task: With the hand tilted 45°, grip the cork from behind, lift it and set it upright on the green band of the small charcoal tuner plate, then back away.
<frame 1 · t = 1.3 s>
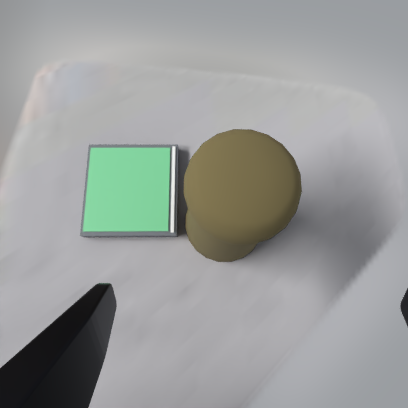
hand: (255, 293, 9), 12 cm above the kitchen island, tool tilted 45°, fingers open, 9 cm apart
tuner plate: (133, 191, 22), on the kitchen island
cork: (223, 222, 22), on the kitchen island
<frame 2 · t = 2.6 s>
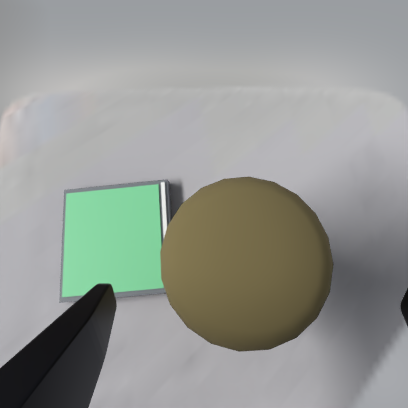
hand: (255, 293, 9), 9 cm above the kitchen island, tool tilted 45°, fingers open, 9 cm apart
tuner plate: (120, 239, 19), on the kitchen island
cork: (230, 268, 18), on the kitchen island
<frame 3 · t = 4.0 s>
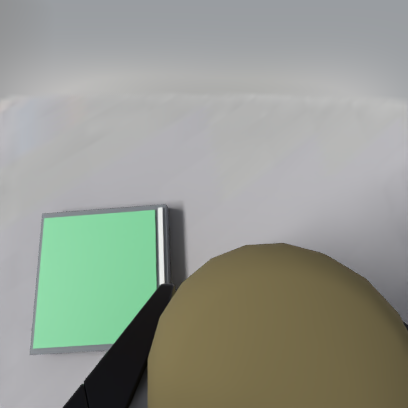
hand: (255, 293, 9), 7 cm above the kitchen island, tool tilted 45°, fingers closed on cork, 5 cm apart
tuner plate: (107, 275, 15), on the kitchen island
cork: (240, 315, 15), on the kitchen island, touching gripper
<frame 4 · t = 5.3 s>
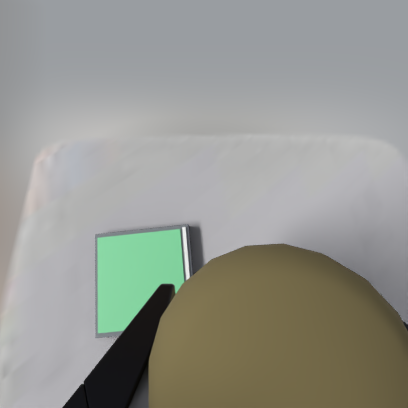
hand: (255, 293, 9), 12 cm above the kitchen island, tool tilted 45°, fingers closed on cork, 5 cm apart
tuner plate: (146, 278, 21), on the kitchen island
cork: (242, 314, 15), point 5 cm above the kitchen island, touching gripper
when the fingers open (9 cm above the kitchen island, at t = 7.0 s): cork stays where it is, resting on tuner plate.
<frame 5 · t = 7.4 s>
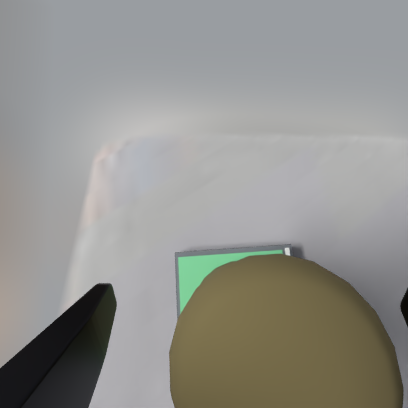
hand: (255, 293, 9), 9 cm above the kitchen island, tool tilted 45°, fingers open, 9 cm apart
tuner plate: (237, 310, 17), on the kitchen island
cork: (243, 314, 16), point 1 cm above the kitchen island, touching tuner plate
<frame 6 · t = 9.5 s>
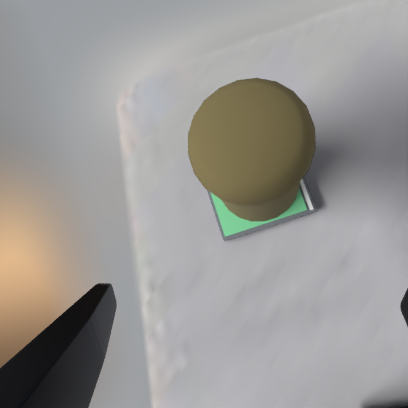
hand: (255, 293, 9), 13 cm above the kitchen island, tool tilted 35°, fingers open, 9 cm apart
tuner plate: (253, 182, 22), on the kitchen island
cork: (257, 181, 21), point 1 cm above the kitchen island, touching tuner plate
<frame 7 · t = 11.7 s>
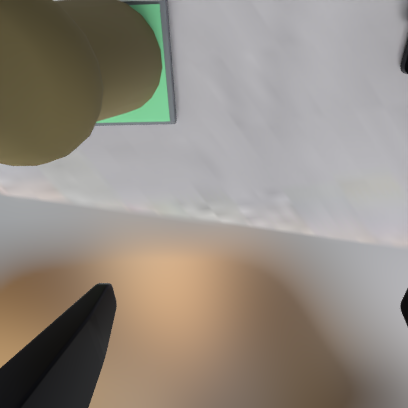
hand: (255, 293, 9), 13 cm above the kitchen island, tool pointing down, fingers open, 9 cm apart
tuner plate: (114, 65, 17), on the kitchen island
cork: (112, 60, 17), point 1 cm above the kitchen island, touching tuner plate
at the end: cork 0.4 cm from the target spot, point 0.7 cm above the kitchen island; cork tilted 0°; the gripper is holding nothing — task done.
